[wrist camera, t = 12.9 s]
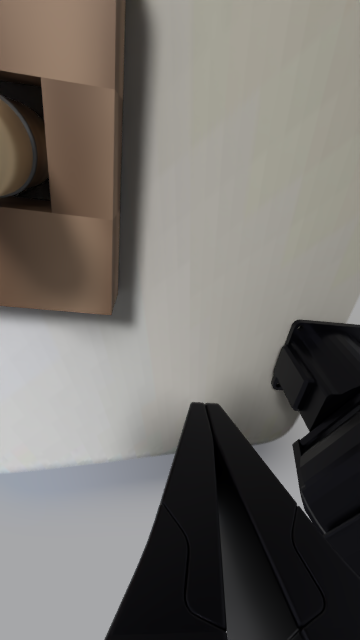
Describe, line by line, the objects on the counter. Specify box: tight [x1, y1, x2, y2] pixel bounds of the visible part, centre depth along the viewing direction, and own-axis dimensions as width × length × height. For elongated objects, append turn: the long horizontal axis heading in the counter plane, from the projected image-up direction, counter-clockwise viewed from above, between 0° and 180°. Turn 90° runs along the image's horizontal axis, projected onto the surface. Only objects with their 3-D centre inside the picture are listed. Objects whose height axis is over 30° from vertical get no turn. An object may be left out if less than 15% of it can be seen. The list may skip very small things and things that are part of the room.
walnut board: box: [0, 0, 126, 315], centre depth 14 cm, size 11×16×3 cm
